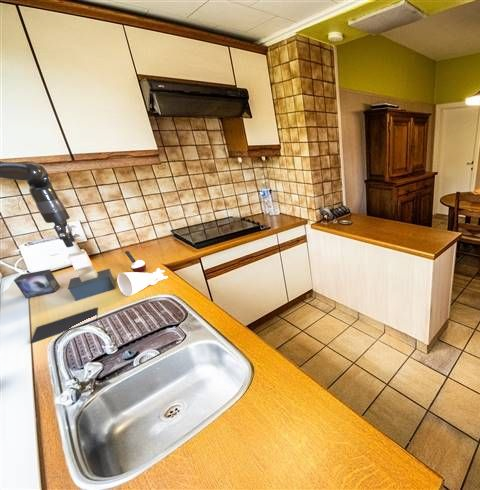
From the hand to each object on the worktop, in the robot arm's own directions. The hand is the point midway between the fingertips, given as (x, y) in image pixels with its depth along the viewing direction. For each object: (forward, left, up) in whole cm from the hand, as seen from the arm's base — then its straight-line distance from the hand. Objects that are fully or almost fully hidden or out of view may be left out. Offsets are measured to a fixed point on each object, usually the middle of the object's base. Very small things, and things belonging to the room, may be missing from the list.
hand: (71, 244), depth 122 cm
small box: (-20, +18, -25) cm, 37 cm away
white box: (0, 0, -11) cm, 11 cm away
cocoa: (+18, +8, -25) cm, 32 cm away
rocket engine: (+20, -17, -25) cm, 36 cm away
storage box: (0, 0, -25) cm, 25 cm away
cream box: (0, 0, -18) cm, 18 cm away
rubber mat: (-8, -28, -25) cm, 38 cm away
